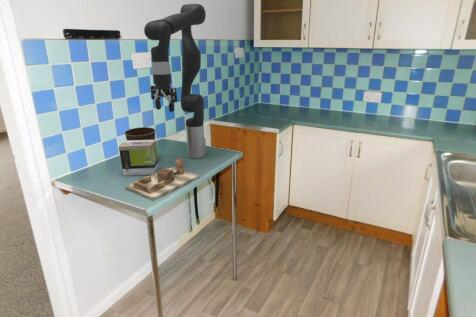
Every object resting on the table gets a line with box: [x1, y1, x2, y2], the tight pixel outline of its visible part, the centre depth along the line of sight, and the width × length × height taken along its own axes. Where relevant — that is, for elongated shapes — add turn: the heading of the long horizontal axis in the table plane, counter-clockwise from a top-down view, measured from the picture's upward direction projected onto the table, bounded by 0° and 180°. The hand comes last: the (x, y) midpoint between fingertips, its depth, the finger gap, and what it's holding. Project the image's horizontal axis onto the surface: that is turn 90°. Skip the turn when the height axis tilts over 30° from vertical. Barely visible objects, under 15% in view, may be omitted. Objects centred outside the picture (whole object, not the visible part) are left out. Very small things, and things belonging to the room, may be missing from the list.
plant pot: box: [124, 126, 156, 140], centre depth 164 cm, size 15×15×16 cm
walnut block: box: [156, 157, 185, 185], centre depth 142 cm, size 14×5×7 cm, turn 152°
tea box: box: [118, 139, 159, 176], centre depth 151 cm, size 15×10×15 cm, turn 92°
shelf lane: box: [124, 166, 201, 201], centre depth 140 cm, size 27×18×4 cm, turn 144°
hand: (165, 110), depth 141 cm, fingers open, 8 cm apart
